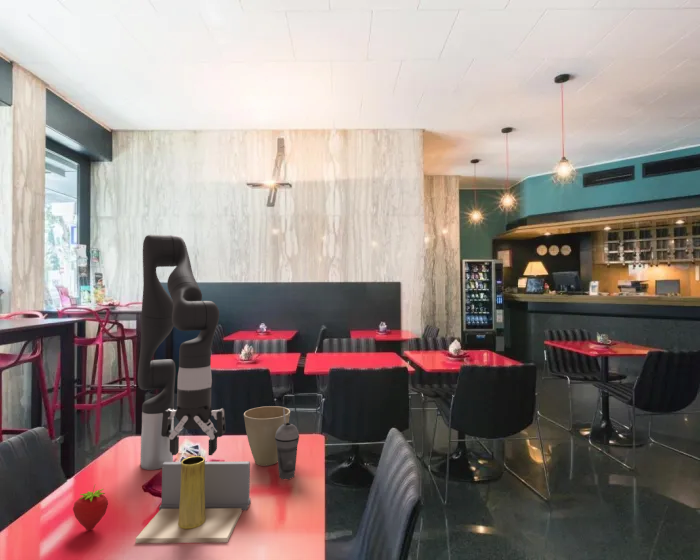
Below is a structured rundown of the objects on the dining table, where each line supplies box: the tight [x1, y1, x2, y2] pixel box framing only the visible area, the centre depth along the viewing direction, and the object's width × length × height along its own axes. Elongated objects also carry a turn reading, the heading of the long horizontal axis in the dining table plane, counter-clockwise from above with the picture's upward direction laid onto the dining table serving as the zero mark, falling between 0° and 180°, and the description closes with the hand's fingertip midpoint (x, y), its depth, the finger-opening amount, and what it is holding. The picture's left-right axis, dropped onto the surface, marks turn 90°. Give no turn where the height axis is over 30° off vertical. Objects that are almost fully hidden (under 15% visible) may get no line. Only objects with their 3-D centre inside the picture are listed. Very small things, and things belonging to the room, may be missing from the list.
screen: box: [158, 461, 252, 512], centre depth 102 cm, size 22×4×11 cm, turn 91°
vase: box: [178, 455, 206, 529], centre depth 93 cm, size 6×6×14 cm
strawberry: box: [72, 484, 109, 531], centre depth 92 cm, size 6×8×10 cm
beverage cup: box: [275, 409, 300, 480], centre depth 119 cm, size 7×7×20 cm
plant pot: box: [243, 405, 291, 467], centre depth 130 cm, size 15×15×16 cm
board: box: [135, 508, 242, 544], centre depth 93 cm, size 20×12×1 cm, turn 91°
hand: (193, 454), depth 93 cm, fingers open, 8 cm apart
